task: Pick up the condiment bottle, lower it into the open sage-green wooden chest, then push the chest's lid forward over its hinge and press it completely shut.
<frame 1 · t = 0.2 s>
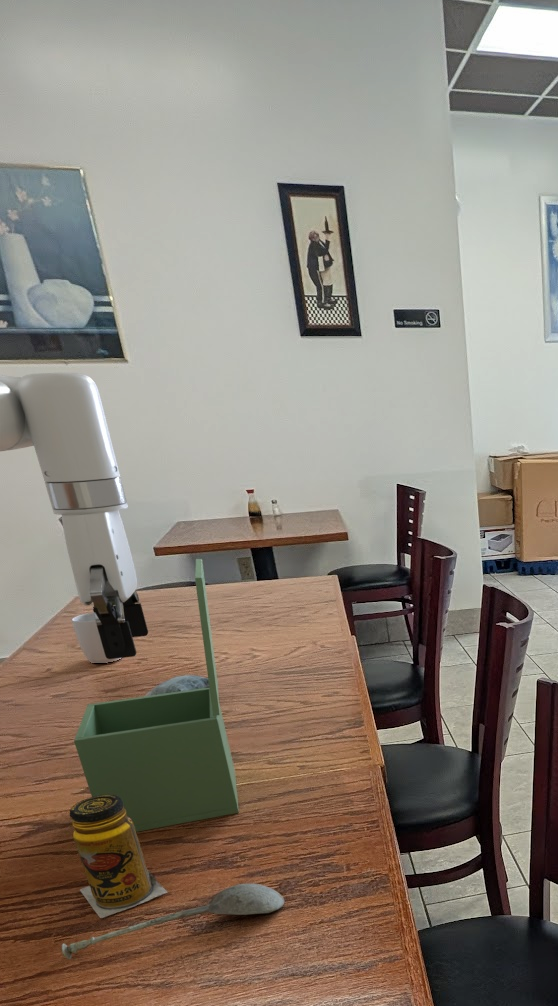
hand: (128, 646, 99), 25 cm above the table, tool pointing down, fingers open, 9 cm apart
grey blue stone: (181, 704, 156), on the table
soupspoon: (180, 929, 89), on the table
condiment: (124, 893, 96), on the table
mug: (108, 659, 186), on the table
lid: (207, 635, 110), point 23 cm above the table, hinge at 95.0°
chest: (174, 802, 117), on the table
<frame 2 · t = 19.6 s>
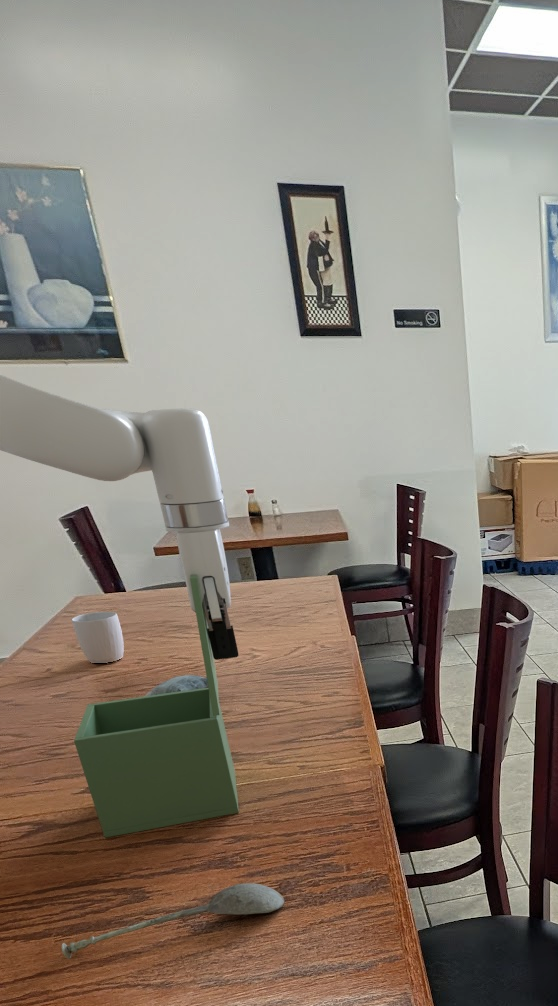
hand: (226, 656, 112), 20 cm above the table, tool pointing down, fingers closed
condiment: (125, 775, 115), point 5 cm above the table, touching chest
lid: (205, 635, 110), point 23 cm above the table, hinge at 93.1°, touching gripper
everything else where it was.
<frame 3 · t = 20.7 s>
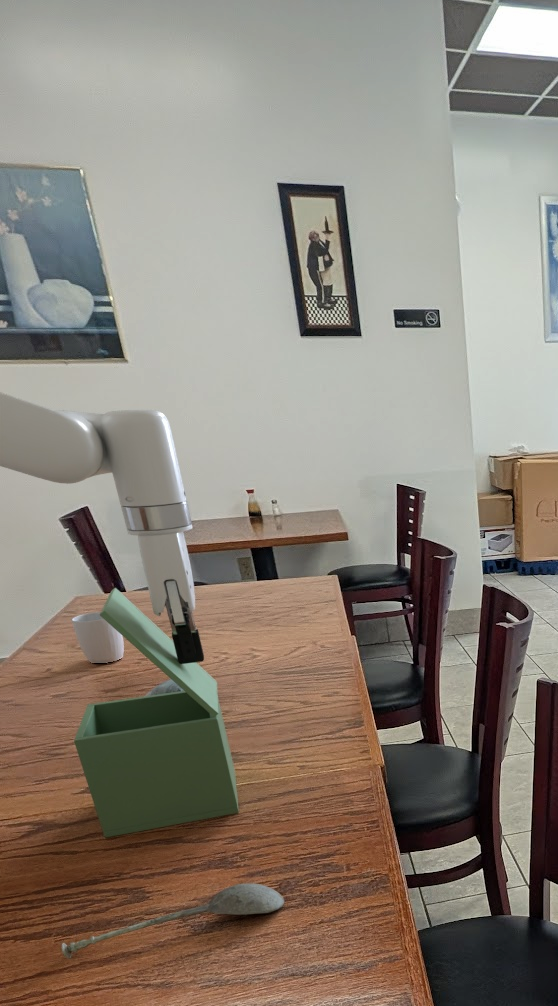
hand: (191, 660, 110), 20 cm above the table, tool pointing down, fingers closed
lid: (164, 651, 108), point 22 cm above the table, hinge at 56.2°, touching gripper
everything else where it was.
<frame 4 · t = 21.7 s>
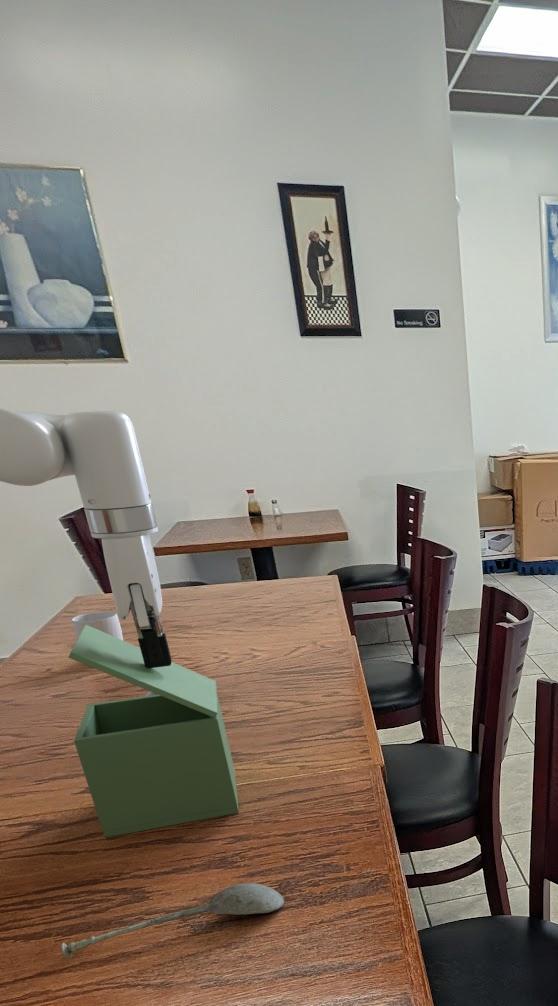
hand: (159, 665, 109), 20 cm above the table, tool pointing down, fingers closed
lid: (149, 670, 109), point 19 cm above the table, hinge at 35.2°, touching gripper
everything else where it was.
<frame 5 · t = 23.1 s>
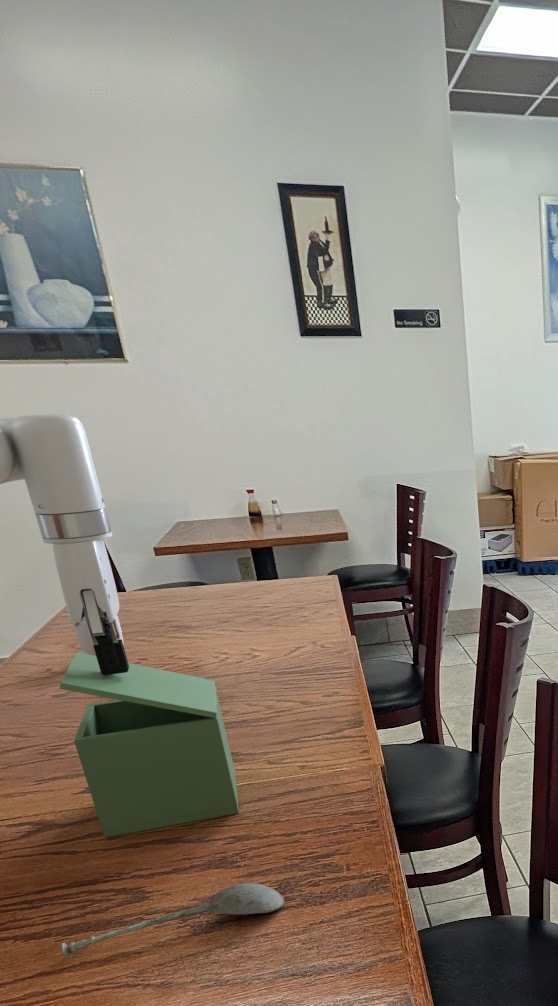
hand: (115, 671, 107), 20 cm above the table, tool pointing down, fingers closed
lid: (144, 684, 109), point 18 cm above the table, hinge at 22.0°
everything else where it was.
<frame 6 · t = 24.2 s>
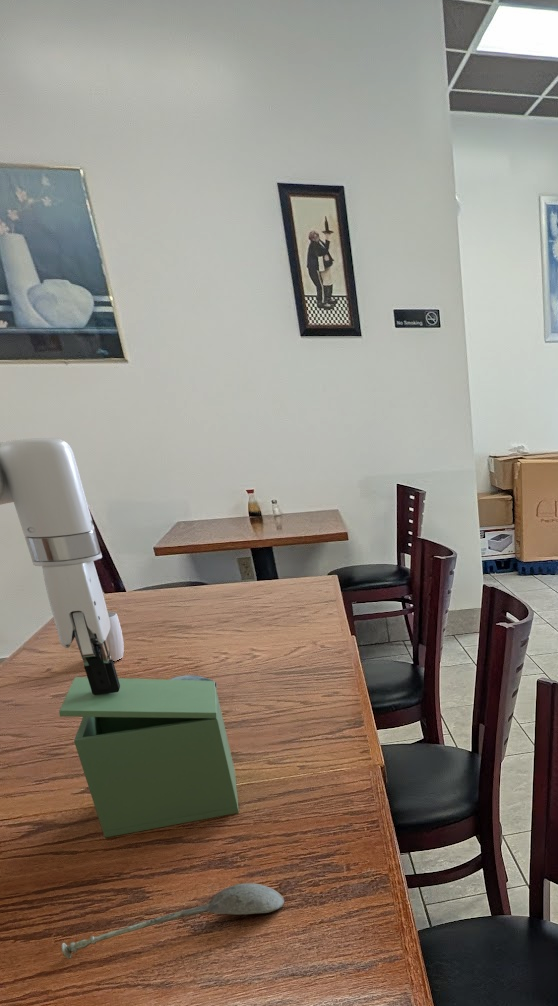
hand: (106, 691, 108), 17 cm above the table, tool pointing down, fingers closed
lid: (144, 697, 110), point 16 cm above the table, hinge at 10.5°, touching gripper
everything else where it was.
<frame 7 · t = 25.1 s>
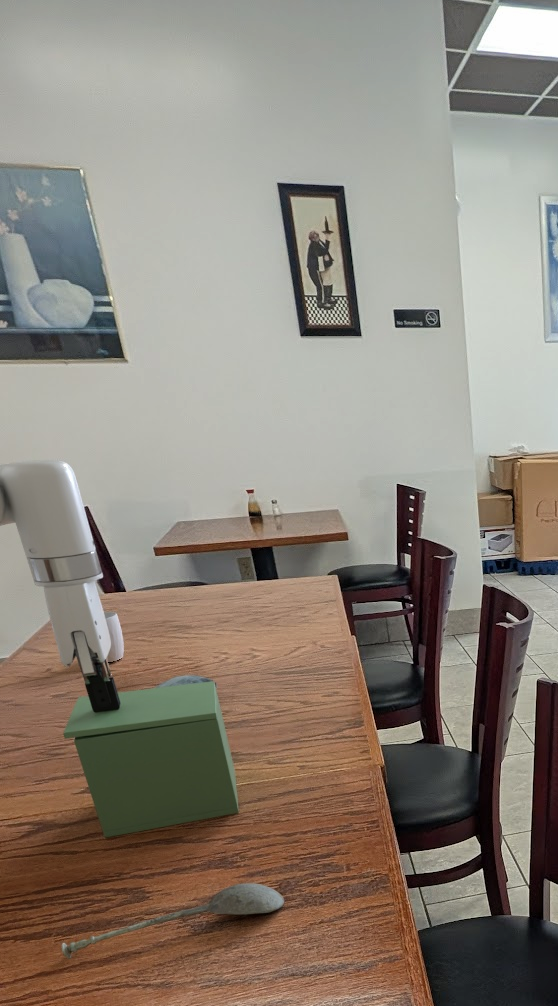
hand: (107, 708, 109), 15 cm above the table, tool pointing down, fingers closed
lid: (145, 707, 110), point 15 cm above the table, hinge at 1.1°, touching gripper
everything else where it was.
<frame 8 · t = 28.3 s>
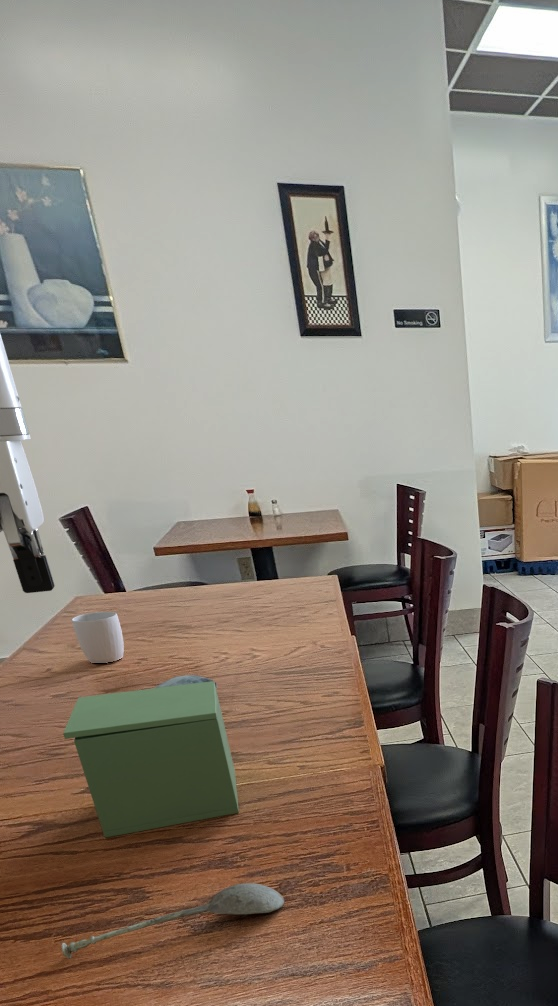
hand: (39, 590, 101), 31 cm above the table, tool pointing down, fingers closed
lid: (145, 707, 110), point 15 cm above the table, hinge at 1.0°
everything else where it was.
at the end: condiment inside the target area in the chest (5.8 cm from its centre), point 4.6 cm above the chest's base; lid at +1° (first picture: +95°) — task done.
